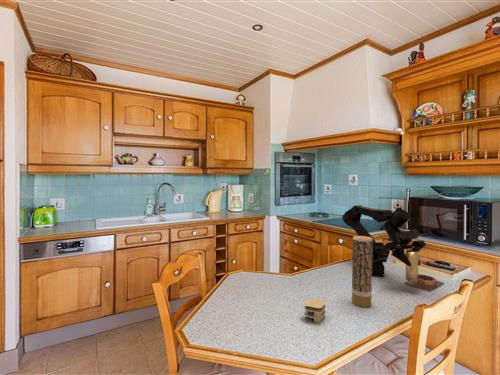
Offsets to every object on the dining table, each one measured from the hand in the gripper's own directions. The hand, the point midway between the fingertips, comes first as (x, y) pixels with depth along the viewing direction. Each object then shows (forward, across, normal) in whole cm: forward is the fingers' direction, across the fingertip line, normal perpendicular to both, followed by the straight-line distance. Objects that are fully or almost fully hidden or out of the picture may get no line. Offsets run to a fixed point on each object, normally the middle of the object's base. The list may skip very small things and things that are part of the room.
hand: (414, 265), depth 110 cm
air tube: (+4, 0, +6) cm, 7 cm away
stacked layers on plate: (+14, -49, +3) cm, 51 cm away
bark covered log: (+10, -27, +7) cm, 29 cm away
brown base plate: (+3, +12, +13) cm, 18 cm away
